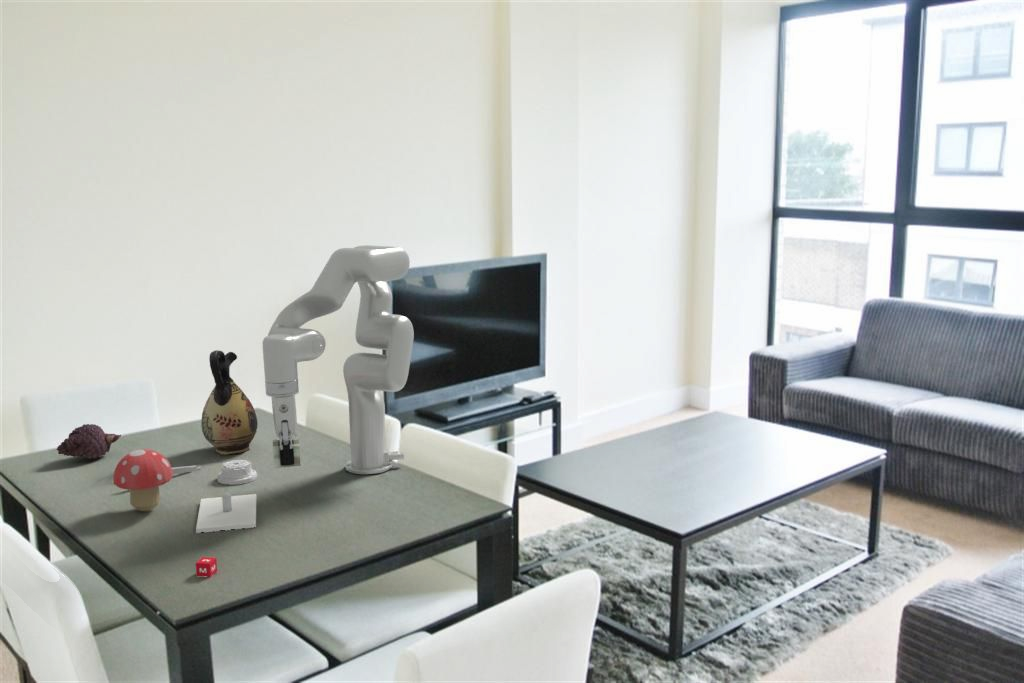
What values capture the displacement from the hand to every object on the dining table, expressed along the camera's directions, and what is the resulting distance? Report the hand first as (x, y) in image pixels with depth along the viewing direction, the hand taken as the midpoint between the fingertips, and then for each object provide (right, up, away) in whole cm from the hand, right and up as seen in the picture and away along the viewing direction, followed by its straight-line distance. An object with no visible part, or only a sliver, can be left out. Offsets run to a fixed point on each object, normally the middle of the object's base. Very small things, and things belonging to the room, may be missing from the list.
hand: (287, 459), depth 228 cm
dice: (-8, -19, -34) cm, 40 cm away
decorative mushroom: (-34, -13, +1) cm, 36 cm away
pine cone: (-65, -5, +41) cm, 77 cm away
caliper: (-37, -9, +24) cm, 45 cm away
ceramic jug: (-28, -4, +48) cm, 55 cm away
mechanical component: (-19, -8, +24) cm, 32 cm away
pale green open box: (0, -1, 0) cm, 1 cm away
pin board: (-14, -13, -2) cm, 19 cm away
